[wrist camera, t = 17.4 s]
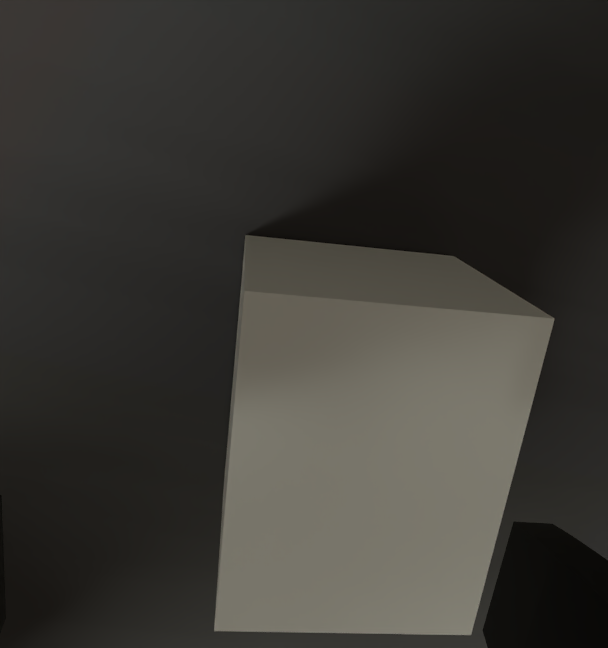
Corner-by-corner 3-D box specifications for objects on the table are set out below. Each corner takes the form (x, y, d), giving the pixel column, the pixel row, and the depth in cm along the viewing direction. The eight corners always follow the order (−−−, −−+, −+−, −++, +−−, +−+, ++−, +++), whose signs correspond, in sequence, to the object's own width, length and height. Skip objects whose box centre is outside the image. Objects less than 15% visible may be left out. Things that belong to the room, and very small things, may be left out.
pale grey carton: (223, 480, 20) (213, 631, 14) (245, 234, 17) (244, 291, 11) (406, 489, 20) (470, 635, 15) (453, 256, 18) (554, 318, 12)
